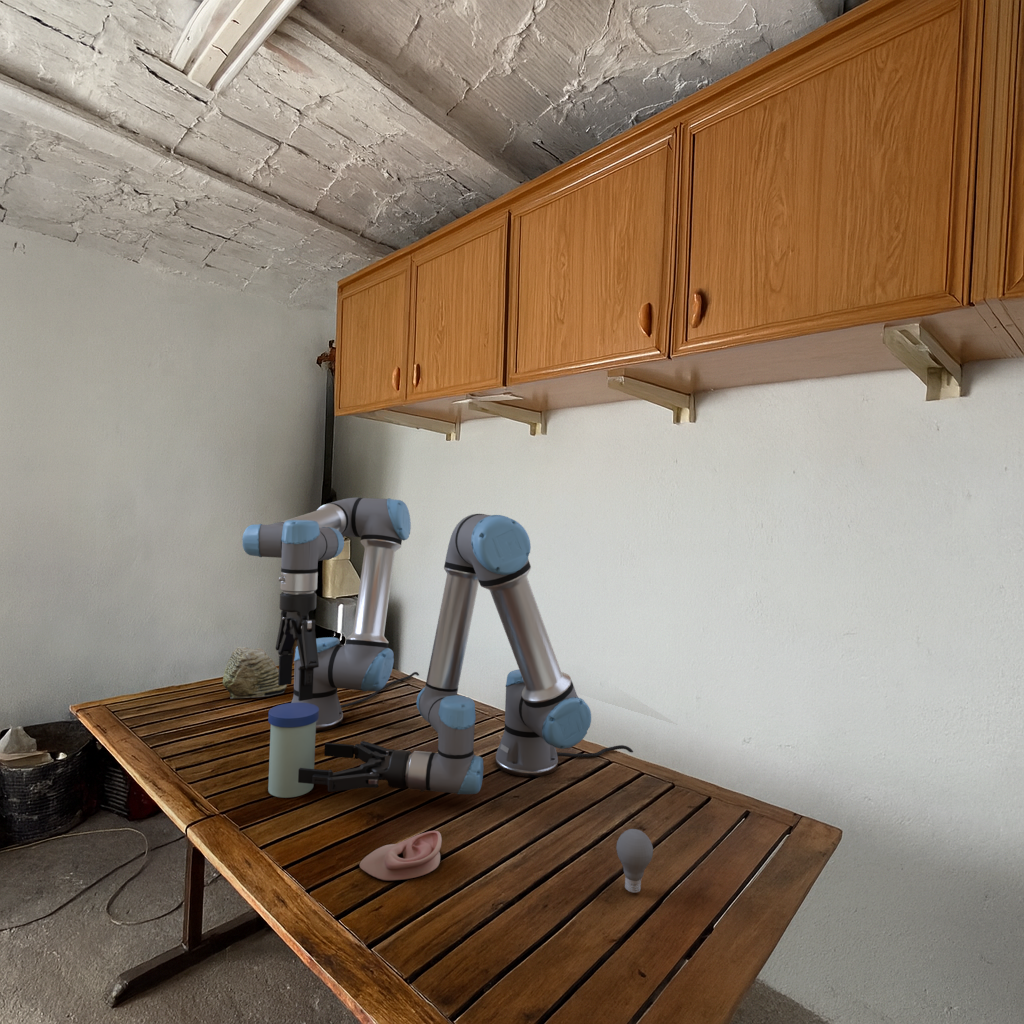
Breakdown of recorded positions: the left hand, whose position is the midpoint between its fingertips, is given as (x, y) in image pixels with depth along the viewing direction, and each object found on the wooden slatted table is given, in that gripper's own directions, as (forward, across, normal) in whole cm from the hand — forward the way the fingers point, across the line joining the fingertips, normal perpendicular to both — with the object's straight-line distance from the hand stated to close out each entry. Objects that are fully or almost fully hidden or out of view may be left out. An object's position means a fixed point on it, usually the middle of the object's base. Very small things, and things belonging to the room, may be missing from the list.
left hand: (294, 691), depth 137 cm
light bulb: (+21, +68, +33) cm, 78 cm away
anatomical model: (+21, +39, +6) cm, 44 cm away
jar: (+21, 0, 0) cm, 21 cm away
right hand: (+14, +4, +3) cm, 15 cm away
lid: (+4, 0, 0) cm, 4 cm away
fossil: (+21, -68, +13) cm, 72 cm away
